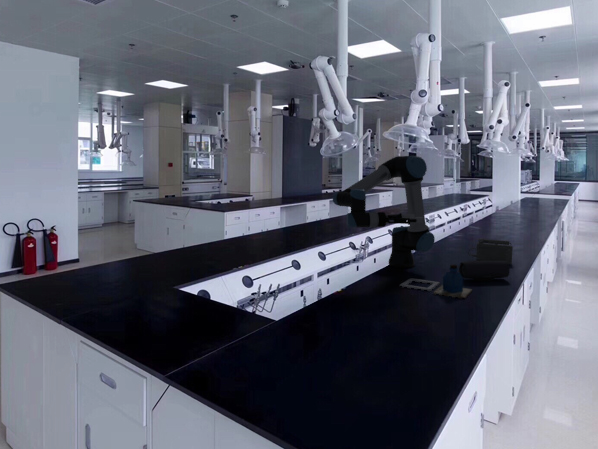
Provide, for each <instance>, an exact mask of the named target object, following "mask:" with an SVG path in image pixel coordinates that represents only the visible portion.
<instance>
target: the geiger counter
mask: <svg viewBox="0 0 598 449" xmlns="http://www.w3.org/2000/svg"><path fill="white" fill-rule="evenodd" d="M477 241H478V242H477V243H476V254H470V251H471V250H474V249H475V247H472V248H470V249H469V250H468V251H467V254H468V256H471V257H472V258H473V257H474V258H475V259H476V260H475V261H506V262H507V263H508V265H512V264H513V247H514V246H513V245H512V243H511V242H510V240H501V239H500V240H499V239H485V238H481V237H480V238H478V240H477Z"/></svg>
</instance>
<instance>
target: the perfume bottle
mask: <svg viewBox="0 0 598 449" xmlns="http://www.w3.org/2000/svg"><path fill="white" fill-rule="evenodd" d="M458 270H459V267H458V264H449V271H446V272H445V274H444V275H443V277H442V278H443V279H442V285H443V290H445V291H448V292H451V293H457V292H462V291H463V288H464V278H463V277H462V275H461V274H460V273H459V271H458ZM457 271H458V272H457Z"/></svg>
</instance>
